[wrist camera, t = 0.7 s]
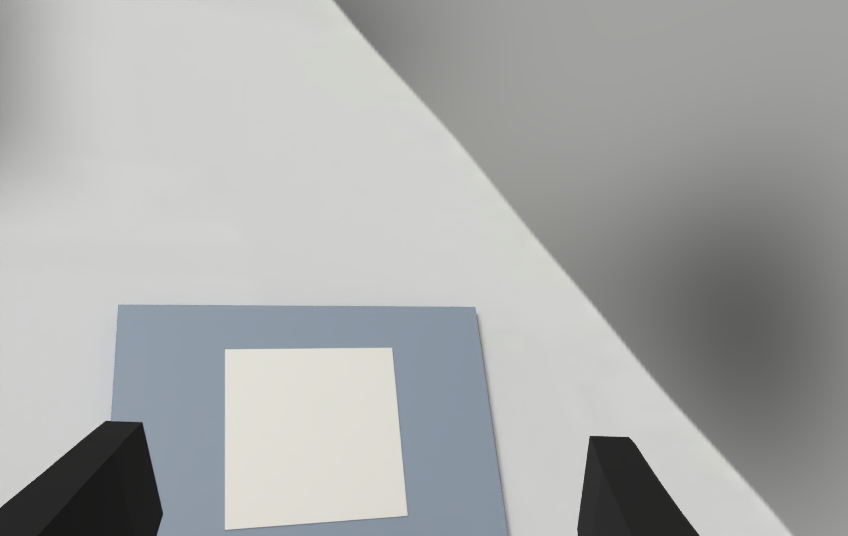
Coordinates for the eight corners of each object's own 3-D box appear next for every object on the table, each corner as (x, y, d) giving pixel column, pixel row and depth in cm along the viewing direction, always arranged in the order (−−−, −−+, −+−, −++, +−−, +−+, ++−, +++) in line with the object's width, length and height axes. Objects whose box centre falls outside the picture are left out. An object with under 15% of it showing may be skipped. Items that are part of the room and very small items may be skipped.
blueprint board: (505, 560, 29) (512, 559, 28) (101, 600, 24) (99, 599, 24) (470, 312, 33) (475, 306, 32) (119, 311, 29) (118, 303, 28)
